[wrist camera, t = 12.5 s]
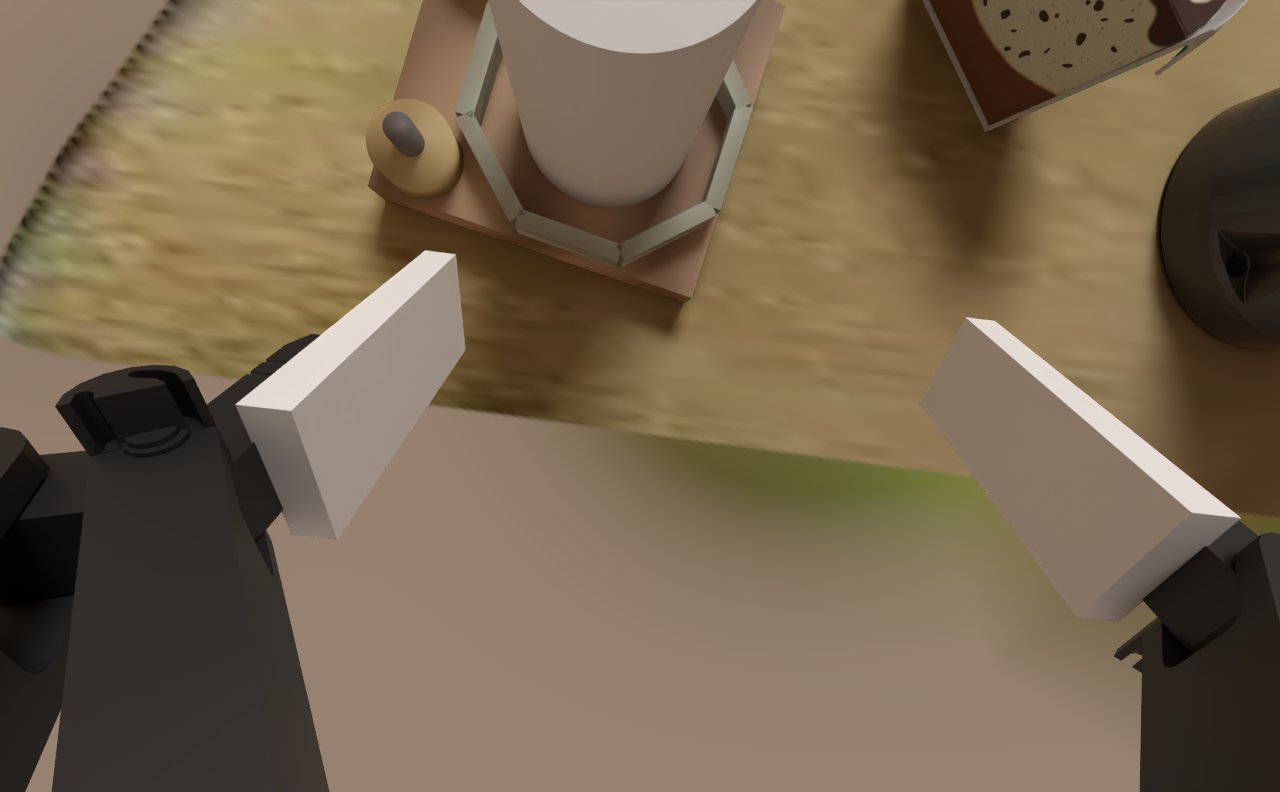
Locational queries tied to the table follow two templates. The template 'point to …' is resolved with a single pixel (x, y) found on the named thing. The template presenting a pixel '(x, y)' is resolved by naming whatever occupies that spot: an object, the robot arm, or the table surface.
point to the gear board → (510, 179)
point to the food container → (1062, 45)
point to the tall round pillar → (616, 86)
